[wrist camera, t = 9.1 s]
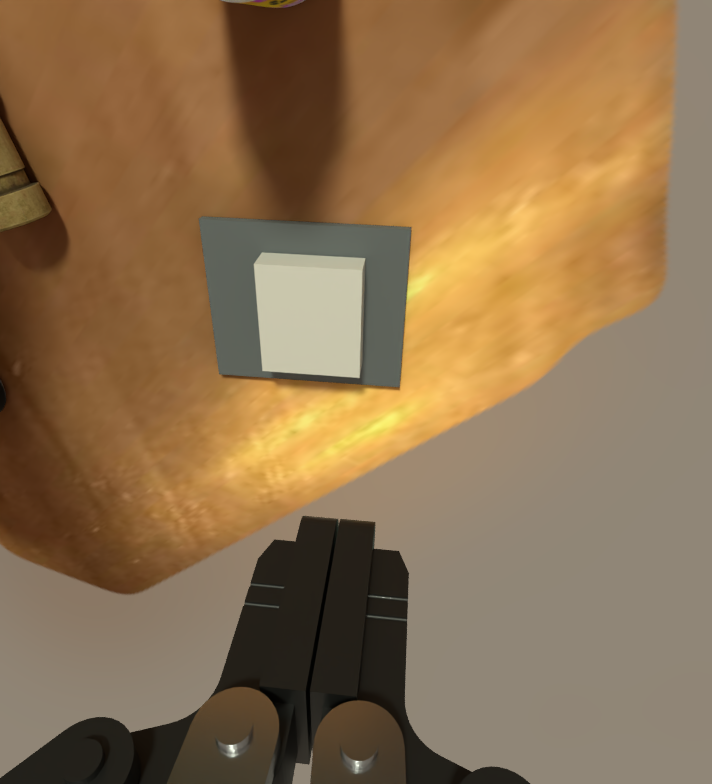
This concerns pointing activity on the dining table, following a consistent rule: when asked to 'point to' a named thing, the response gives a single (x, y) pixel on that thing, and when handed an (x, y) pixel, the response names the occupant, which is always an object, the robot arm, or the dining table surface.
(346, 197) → the dining table surface
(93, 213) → the dining table surface
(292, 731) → the robot arm
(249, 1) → the supplement bottle
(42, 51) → the dining table surface
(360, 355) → the tile
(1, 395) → the beverage can
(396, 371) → the mat
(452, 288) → the dining table surface
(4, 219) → the gavel
